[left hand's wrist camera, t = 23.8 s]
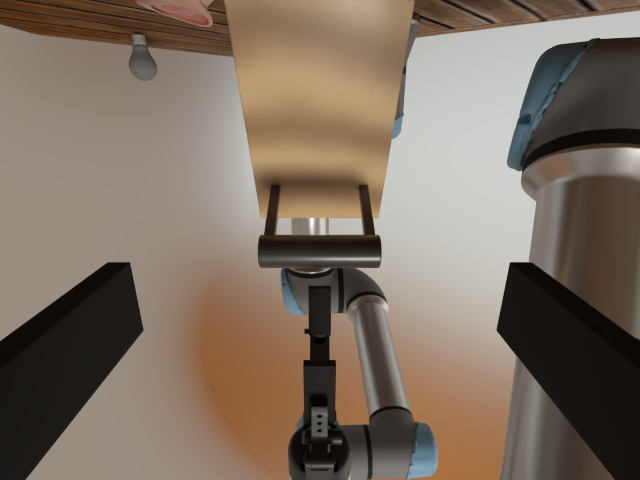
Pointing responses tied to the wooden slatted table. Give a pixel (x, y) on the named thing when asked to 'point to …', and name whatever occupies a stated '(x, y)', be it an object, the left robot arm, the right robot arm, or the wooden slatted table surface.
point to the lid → (319, 117)
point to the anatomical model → (182, 10)
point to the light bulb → (141, 59)
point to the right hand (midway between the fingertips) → (319, 318)
